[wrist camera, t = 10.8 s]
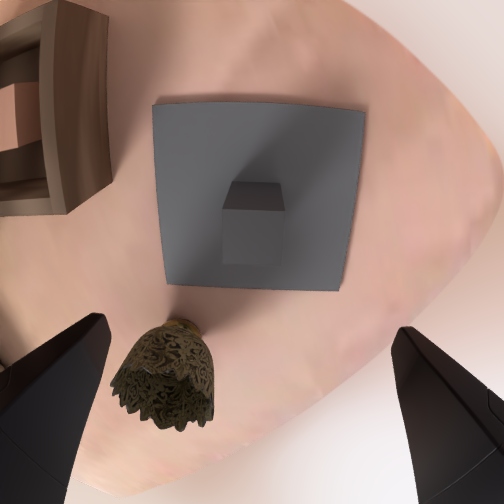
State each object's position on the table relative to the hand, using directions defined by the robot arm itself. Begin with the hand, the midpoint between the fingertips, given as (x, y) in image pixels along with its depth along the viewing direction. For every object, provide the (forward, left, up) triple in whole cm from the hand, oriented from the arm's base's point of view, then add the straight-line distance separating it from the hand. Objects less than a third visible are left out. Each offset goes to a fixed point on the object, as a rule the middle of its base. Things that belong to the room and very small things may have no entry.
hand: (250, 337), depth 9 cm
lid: (0, 0, -13) cm, 13 cm away
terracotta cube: (-16, +7, -12) cm, 21 cm away
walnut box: (-16, +7, -13) cm, 22 cm away
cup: (-6, -12, -13) cm, 19 cm away
